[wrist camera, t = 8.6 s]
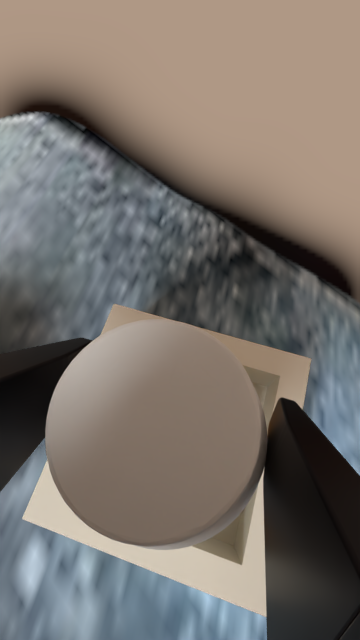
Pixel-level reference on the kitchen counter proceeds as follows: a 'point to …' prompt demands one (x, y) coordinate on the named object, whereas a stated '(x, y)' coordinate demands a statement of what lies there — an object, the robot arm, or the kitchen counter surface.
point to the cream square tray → (232, 542)
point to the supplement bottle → (156, 435)
